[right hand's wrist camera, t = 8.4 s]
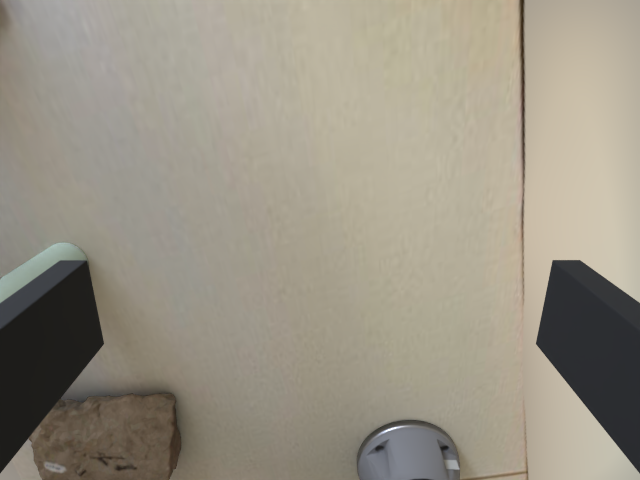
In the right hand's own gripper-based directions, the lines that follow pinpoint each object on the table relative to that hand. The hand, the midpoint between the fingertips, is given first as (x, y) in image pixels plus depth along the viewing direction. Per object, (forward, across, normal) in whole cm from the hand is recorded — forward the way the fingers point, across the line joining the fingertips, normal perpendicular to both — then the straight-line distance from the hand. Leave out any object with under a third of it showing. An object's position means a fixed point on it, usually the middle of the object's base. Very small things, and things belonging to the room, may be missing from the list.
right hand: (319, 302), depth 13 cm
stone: (+41, +31, +42) cm, 66 cm away
